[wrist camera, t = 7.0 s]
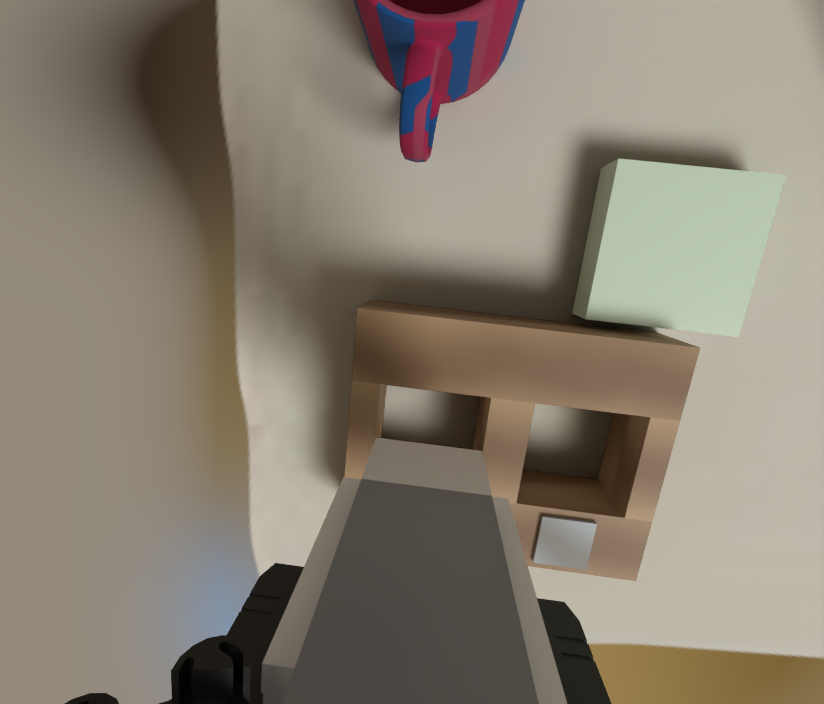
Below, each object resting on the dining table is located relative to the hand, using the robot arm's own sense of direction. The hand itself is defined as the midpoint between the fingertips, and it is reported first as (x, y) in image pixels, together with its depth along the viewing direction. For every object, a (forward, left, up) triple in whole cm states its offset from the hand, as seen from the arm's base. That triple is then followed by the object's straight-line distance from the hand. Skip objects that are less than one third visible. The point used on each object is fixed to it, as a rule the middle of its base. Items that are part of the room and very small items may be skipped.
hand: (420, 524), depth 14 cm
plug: (0, 0, -2) cm, 2 cm away
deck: (-10, +10, -9) cm, 17 cm away
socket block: (0, +4, -9) cm, 10 cm away
